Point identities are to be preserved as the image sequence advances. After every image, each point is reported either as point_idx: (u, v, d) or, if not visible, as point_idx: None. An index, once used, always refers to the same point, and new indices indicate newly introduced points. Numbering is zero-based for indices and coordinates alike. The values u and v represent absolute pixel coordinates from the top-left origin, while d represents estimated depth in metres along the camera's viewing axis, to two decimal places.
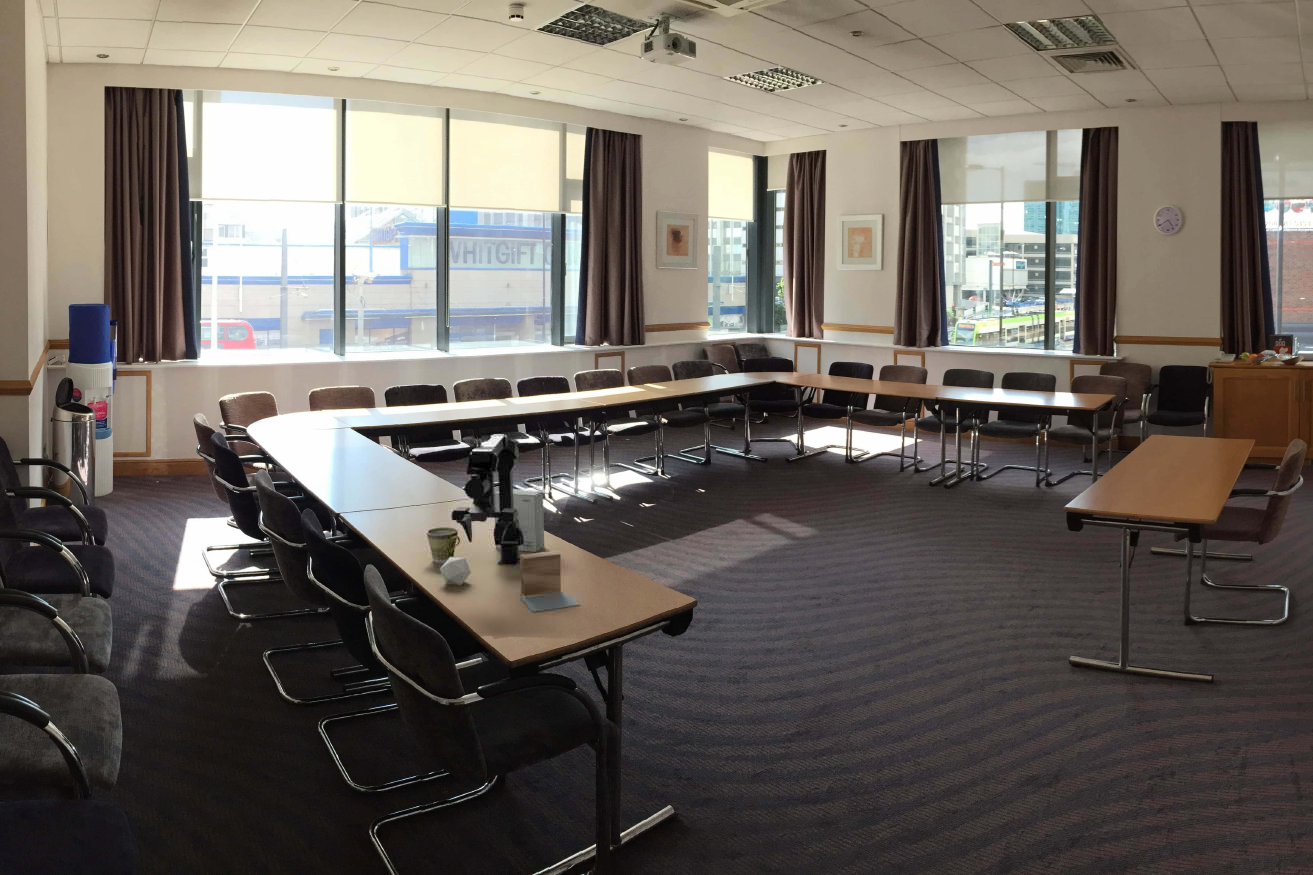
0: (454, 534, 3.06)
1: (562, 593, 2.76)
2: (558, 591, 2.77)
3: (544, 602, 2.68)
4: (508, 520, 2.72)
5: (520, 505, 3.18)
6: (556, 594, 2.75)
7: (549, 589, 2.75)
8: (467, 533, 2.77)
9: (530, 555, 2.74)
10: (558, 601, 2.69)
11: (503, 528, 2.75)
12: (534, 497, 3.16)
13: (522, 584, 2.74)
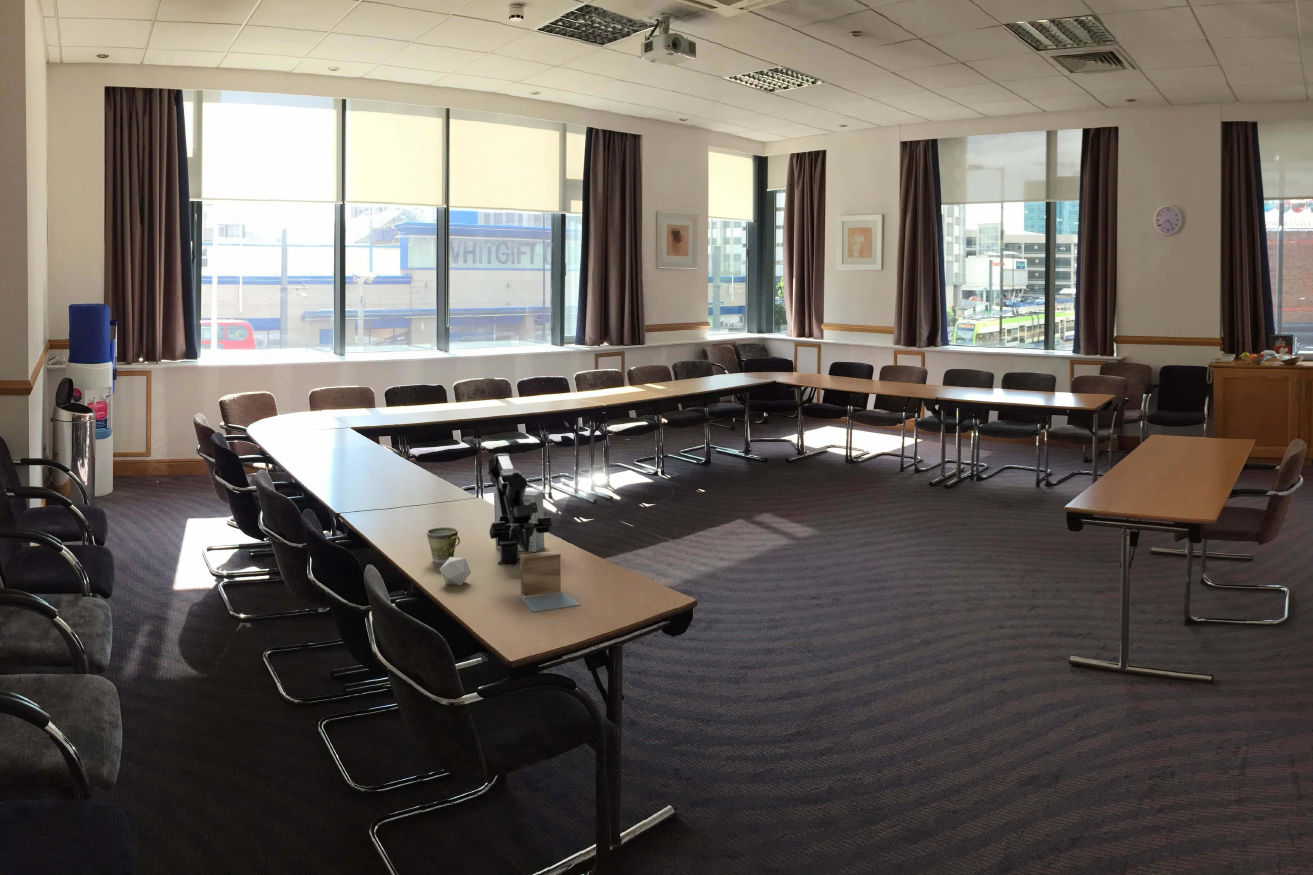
0: (454, 534, 3.06)
1: (562, 593, 2.76)
2: (558, 591, 2.77)
3: (544, 602, 2.68)
4: (548, 521, 2.88)
5: None
6: (556, 594, 2.75)
7: (549, 589, 2.75)
8: (523, 541, 2.83)
9: (530, 555, 2.74)
10: (558, 601, 2.69)
11: (529, 534, 2.85)
12: (534, 497, 3.16)
13: (522, 584, 2.74)
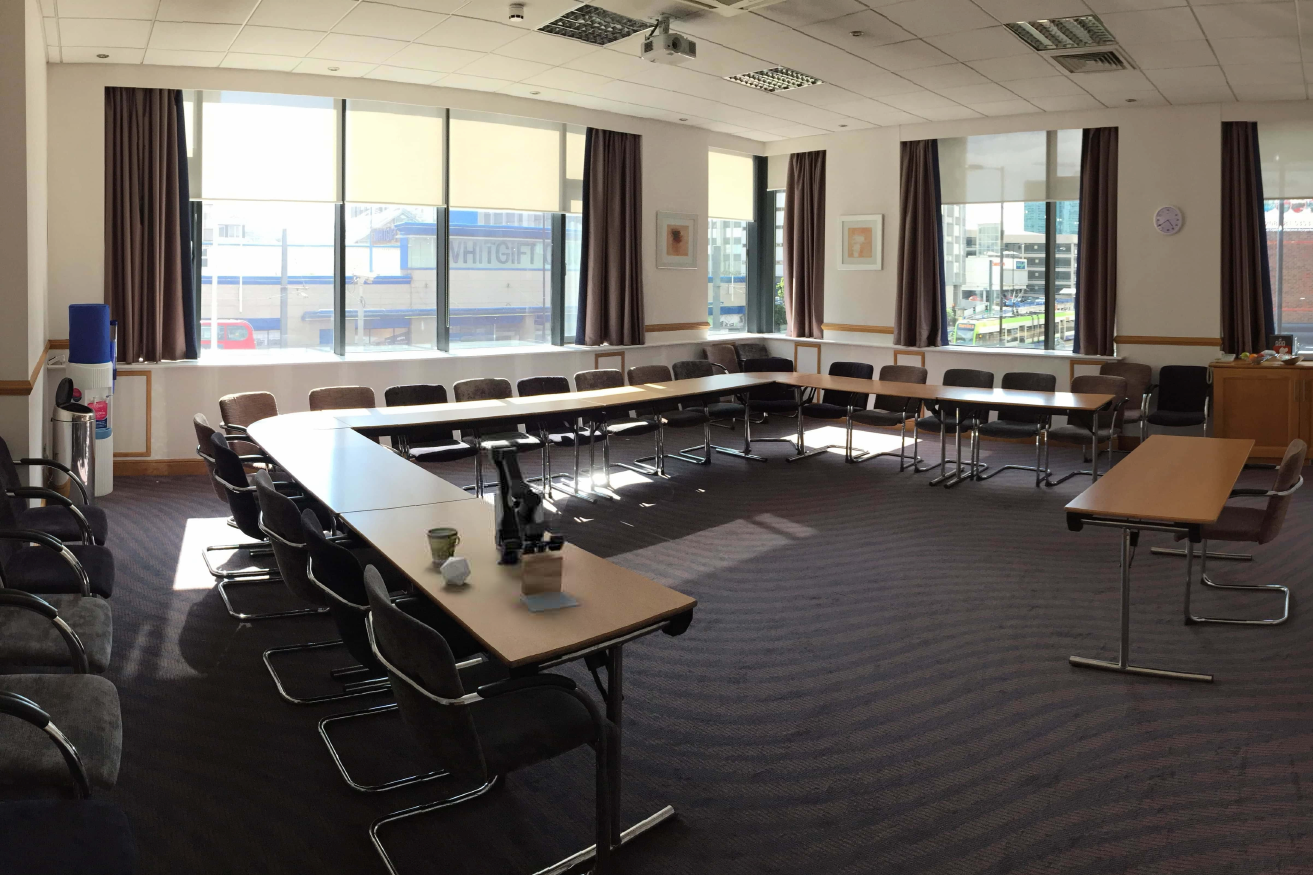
0: (454, 534, 3.06)
1: (562, 593, 2.76)
2: (558, 591, 2.77)
3: (544, 602, 2.68)
4: (561, 539, 2.81)
5: None
6: (556, 594, 2.75)
7: (549, 589, 2.75)
8: None
9: (532, 556, 2.72)
10: (558, 601, 2.69)
11: (541, 552, 2.79)
12: None
13: (523, 583, 2.73)
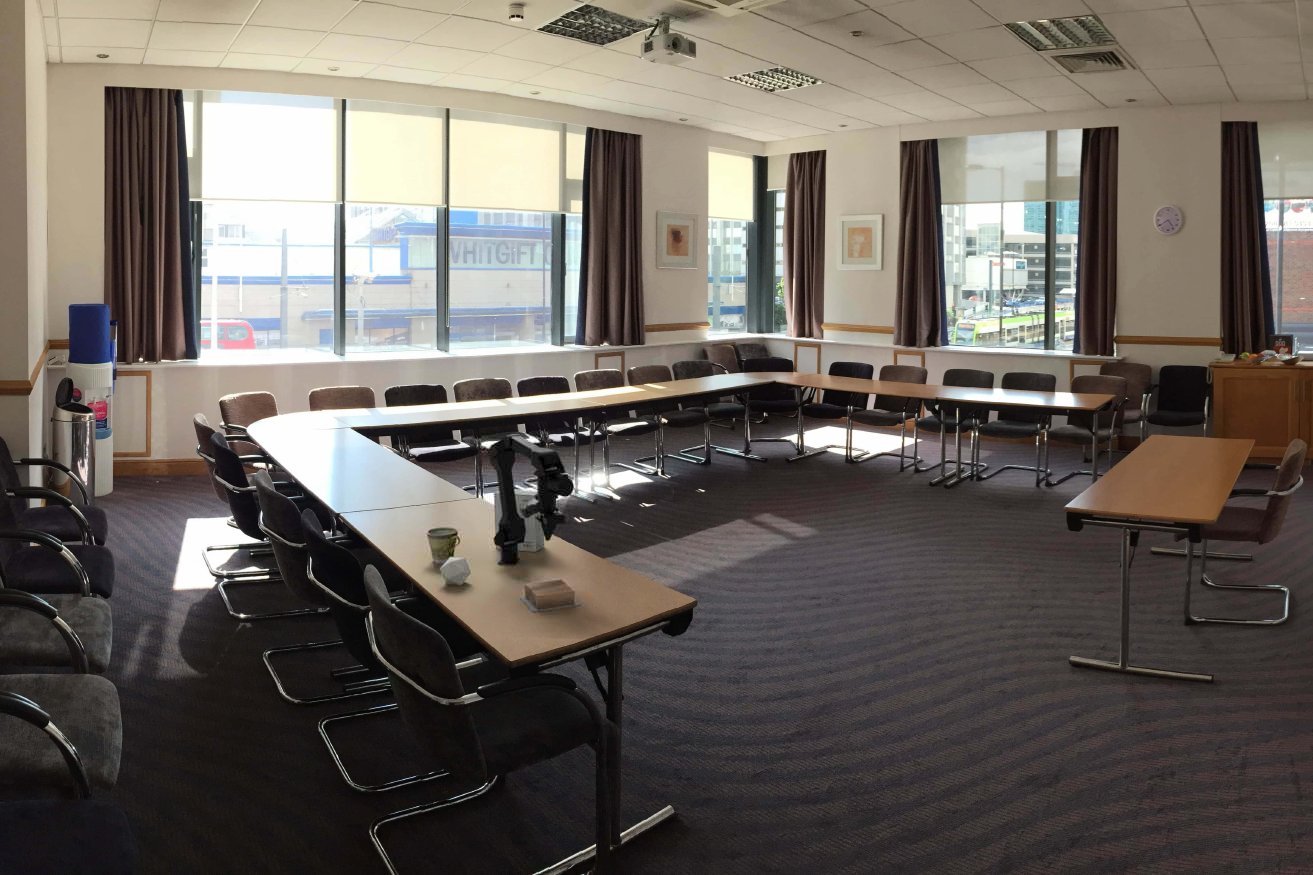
0: (454, 534, 3.06)
1: None
2: None
3: None
4: (545, 522, 2.80)
5: None
6: None
7: None
8: (543, 531, 2.89)
9: (546, 600, 2.63)
10: None
11: (544, 526, 2.87)
12: (534, 497, 3.16)
13: (528, 593, 2.69)
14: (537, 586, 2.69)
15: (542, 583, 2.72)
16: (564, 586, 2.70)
